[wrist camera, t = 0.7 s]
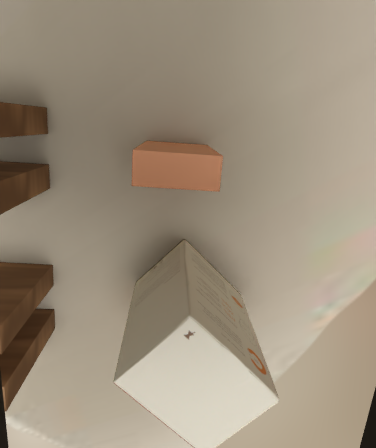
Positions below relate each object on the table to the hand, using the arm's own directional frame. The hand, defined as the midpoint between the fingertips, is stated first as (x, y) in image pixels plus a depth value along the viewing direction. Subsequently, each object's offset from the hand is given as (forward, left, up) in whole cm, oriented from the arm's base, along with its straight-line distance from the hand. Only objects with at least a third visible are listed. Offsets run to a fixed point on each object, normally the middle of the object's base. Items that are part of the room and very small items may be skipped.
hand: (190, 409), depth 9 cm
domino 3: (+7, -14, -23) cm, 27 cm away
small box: (+8, +1, -23) cm, 24 cm away
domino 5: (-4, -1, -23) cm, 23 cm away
